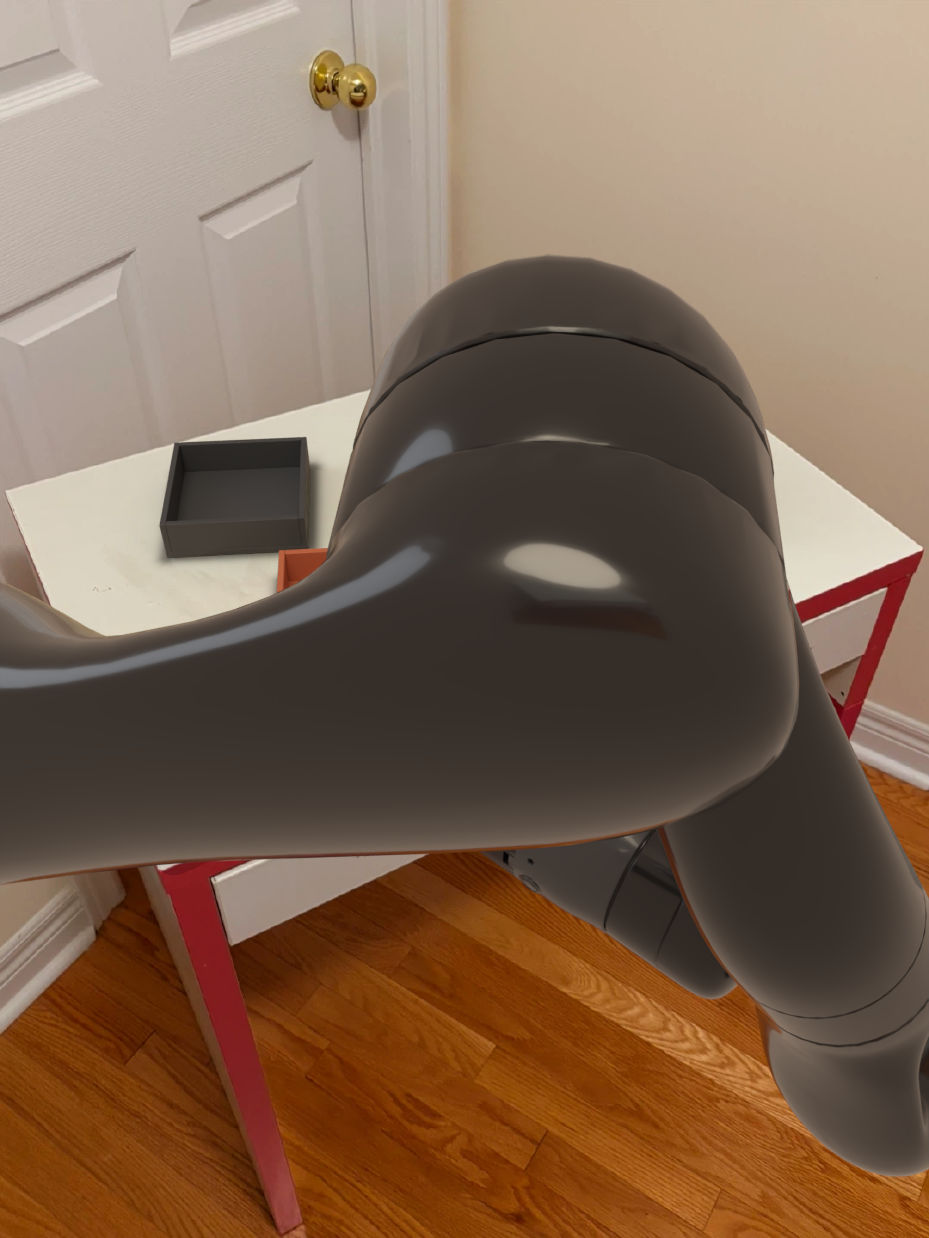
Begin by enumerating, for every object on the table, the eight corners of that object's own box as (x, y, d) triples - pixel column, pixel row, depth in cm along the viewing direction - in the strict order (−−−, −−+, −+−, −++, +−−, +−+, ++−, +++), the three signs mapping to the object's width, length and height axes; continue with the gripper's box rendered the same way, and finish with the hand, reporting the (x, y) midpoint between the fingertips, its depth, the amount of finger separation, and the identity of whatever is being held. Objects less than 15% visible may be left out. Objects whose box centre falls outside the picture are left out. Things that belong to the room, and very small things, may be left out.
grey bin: (167, 558, 90) (159, 525, 87) (181, 474, 98) (174, 442, 96) (308, 550, 91) (304, 518, 88) (310, 468, 99) (306, 436, 97)
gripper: (657, 677, 51) (409, 540, 59) (472, 871, 43) (213, 685, 51) (638, 771, 56) (413, 635, 64) (470, 960, 49) (235, 779, 56)
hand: (324, 657), depth 57 cm, fingers open, 8 cm apart
